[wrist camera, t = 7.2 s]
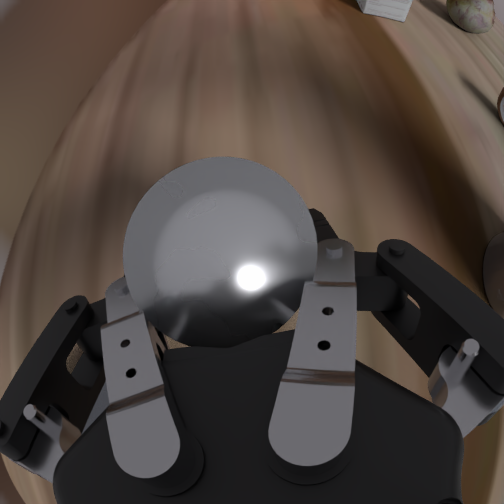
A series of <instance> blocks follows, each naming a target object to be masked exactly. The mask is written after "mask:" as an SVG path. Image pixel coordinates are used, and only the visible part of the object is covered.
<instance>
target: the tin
mask: <svg viewBox="0 0 504 504" xmlns="http://www.w3.org/2000/svg"><path fill="white" fill-rule="evenodd" d="M497 108H498V114H499V117H500V119H501V121H502V123H503V125H504V87H503V89H502V91H501V93H500V95H499V97H498V101H497Z"/></svg>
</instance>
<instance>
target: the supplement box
mask: <svg viewBox="0 0 504 504" xmlns="http://www.w3.org/2000/svg"><path fill="white" fill-rule="evenodd" d="M356 1H357V3H358V4H359V6H360V8H361V10H362V12H363V13H366V14H371V15H376V16H381V17H385V18H389V19H394V20H397V21H401V22H404V21H405V19H406V16H407V14H408V11H409V9H410V6H411V3H412V1H413V0H356Z"/></svg>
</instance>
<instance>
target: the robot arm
mask: <svg viewBox="0 0 504 504" xmlns="http://www.w3.org/2000/svg"><path fill="white" fill-rule="evenodd" d="M308 210H309V212H310V215H311V217H312V220H313V223H314V227H315V231H316V237H317V263H316V270H315V274H314V277H313V281H305V284H304V289H303V294H302V299H301V304H300V309H299V314H298V319H297V324H296V328H295V329H294V330H289V331H284V332H279V333H273V334H268V335H263V336H260V337H257V338H255V339H252V340H250V341H247V342H244V343H242V344H239V345H236V346H233V347H230V348H215V347H201V346H191V347H183V348H175V349H170V347H169V344H168V341H167V338H166V335H165V334H163V333H162V332H161V331H159V330H158V329H157V328H156V327H154V326H153V325H152V324H151V323H150V322H149V321H148V319H147V317H146V314H145V312H144V309H142V310H139V308H138V307H137V305H136V303H135V301H134V300H133V298H132V296H131V293H130V291H129V288H128V285H127V282H126V278H125V274H124V277H122V278H120V279H118V280H116V281H114V282H113V283H112V284H111V285H110V286H109V287H108V288H107V290H106V293H105V296H106V298H104V299H102V300H99V301H97V302H95V303H92V304H89V302H88V300H87V299H86V297H84V296H81V295H80V296H74V297H72V298H70V299H68V300H67V301H66V302H64V303H63V304H62V305H61V307H60V308H59V309H58V311H57V312H56V313H55V315H54V316H53V318H52V319H51V320H50V322H49V323H48V325H47V326H46V328H45V329H44V331H43V332H42V333H41V335H40V336H39V338H38V339H37V341H36V342H35V344H34V345H33V347H32V348H31V350H30V352H29V353H28V355H27V356H26V358H25V359H24V361H23V363H22V364H21V366H20V367H19V369H18V371H17V372H16V374H15V376H14V377H13V379H12V381H11V383H10V384H9V386H8V388H7V389H6V391H5V393H4V395H3V397H2V398H1V400H0V452H1V453H2V454H4V455H5V456H7V457H8V458H9V459H10V460H11V461H13V462H15V463H16V464H18V465H19V466H21V467H23V468H24V469H26V470H28V471H30V472H31V473H33V474H37V475H39V476H40V477H42V478H44V479H46V480H48V481H50V482H51V483H53V490H54V495H55V498H56V501H57V504H463V501H462V495H461V471H462V463H463V456H464V441H463V438H464V437H465V436H466V435H467V434H468V433H470V432H471V431H472V430H473V429H474V428H475V427H476V426H479V425H483V424H485V423H486V422H487V421H488V420H489V419H490V418H491V417H492V416H493V415H494V414H495V413H496V412H497V411H498V410H499V409H500V408H501V407H502V406H503V405H504V319H503V318H504V232H502V233H500V234H498V235H496V236H495V237H493V239H492V240H491V241H490V242H489V244H488V246H487V249H486V252H485V256H484V262H483V279H484V287H485V291H486V295H487V297H488V300H489V303H490V304H491V306H492V308H493V309H492V308H491V307H490V306H488V305H487V304H486V303H485V302H484V301H483V300H482V299H480V298H479V297H478V296H477V295H476V294H474V293H473V292H472V291H471V290H470V289H468V288H467V287H466V286H465V285H463V284H462V283H461V282H460V281H458V280H457V279H456V278H455V277H453V276H452V275H451V274H450V273H448V272H447V271H446V270H444V269H443V268H442V267H441V266H439V265H438V264H437V263H435V262H434V261H433V260H431V259H430V258H429V257H427V256H426V255H425V254H423V253H422V252H421V251H419V250H418V249H416V248H415V247H414V246H412V245H411V244H409V243H408V242H405V241H403V240H397V239H390V240H385V241H383V242H381V243H380V244H379V245H378V248H377V252H357V251H354V247H353V245H352V244H351V243H349V242H348V241H345V240H342V239H339V238H338V236H337V235H336V233H335V232H334V230H333V229H332V227H331V226H330V225H329V223H328V221H327V220H326V218H325V217H324V215H323V214H322V213H321V212H319V211H317V210H316V209H314V208H313V209H308ZM408 294H409V295H410V296H411V297H412V298H413V299H414V300H415V301H416V302H417V303H418V305H419V307H420V309H419V308H418V307H417V306H416V305H415V304H414V303H413V302H412V301H411V300H409V299H408V298H407V296H408ZM357 311H371V312H372V314H373V315H374V317H375V318H376V319H377V320H378V321H379V322H380V323H381V324H382V325H383V326H384V327H385V329H386V330H387V331H388V332H389V333H390V334H391V335H392V336H393V337H394V339H395V340H396V341H397V342H398V343H399V344H400V345H401V346H402V347H403V349H404V350H405V351H406V352H407V353H408V354H409V355H410V356H411V358H412V359H413V360H414V361H415V362H416V363H417V364H418V366H419V367H420V368H421V369H422V370H423V371H424V373H425V374H426V375H427V376H428V377H429V380H428V390H429V393H430V395H431V397H432V402H433V403H434V404H433V403H432V402H430V401H428V400H426V399H424V398H422V397H421V396H419V395H417V394H415V393H413V392H412V391H410V390H408V389H406V388H404V387H403V386H401V385H399V384H397V383H396V382H394V381H392V380H390V379H389V378H387V377H385V376H383V375H382V374H380V373H378V372H376V371H375V370H373V369H371V368H370V367H368V366H366V365H364V364H363V363H361V362H359V361H358V360H356V359H355V357H356V324H357ZM76 343H77V344H78V346H79V347H80V348H81V350H82V351H83V354H82V356H81V357H80V359H79V361H78V363H77V365H76V366H75V368H74V370H73V372H72V374H70V373H69V372H68V370H67V368H66V360H67V357H68V356H69V354H70V352H71V351H72V349H73V347H74V345H75V344H76ZM105 381H106V384H107V391H108V398H109V406H108V407H107V408H106V409H105V410H104V411H103V412H102V413H101V414H100V415H99V416H98V417H97V418H96V420H95V421H94V422H93V423H92V424H91V425H90V426H89V427H88V428H87V429H86V430H85V431H84V433H83V434H82V432H83V430H84V427H85V425H86V423H87V420H88V418H89V416H90V414H91V411H92V409H93V407H94V405H95V403H96V400H97V398H98V396H99V394H100V392H101V390H102V388H103V385H104V383H105ZM81 434H82V435H81Z"/></svg>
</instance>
